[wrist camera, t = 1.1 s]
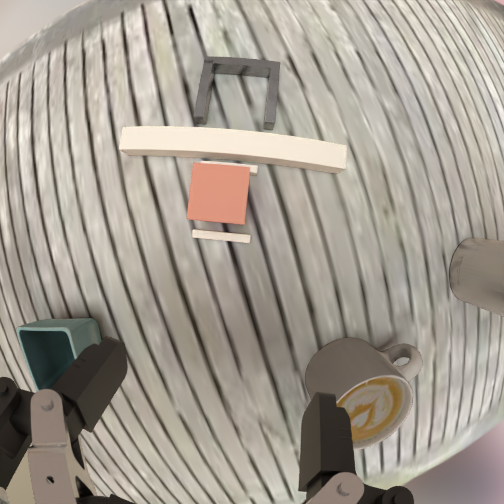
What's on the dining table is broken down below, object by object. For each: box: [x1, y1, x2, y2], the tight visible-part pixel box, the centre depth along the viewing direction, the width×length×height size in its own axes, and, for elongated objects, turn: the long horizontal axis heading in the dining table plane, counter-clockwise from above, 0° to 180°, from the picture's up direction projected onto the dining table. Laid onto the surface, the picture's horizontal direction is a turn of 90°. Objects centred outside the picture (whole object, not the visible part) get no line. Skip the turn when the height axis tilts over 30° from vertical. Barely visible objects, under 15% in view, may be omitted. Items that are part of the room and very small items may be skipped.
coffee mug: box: [305, 338, 423, 450], centre depth 28 cm, size 13×10×10 cm
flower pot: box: [16, 318, 102, 391], centre depth 27 cm, size 9×9×9 cm
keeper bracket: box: [194, 57, 280, 130], centre depth 28 cm, size 8×8×2 cm
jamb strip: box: [119, 126, 347, 243], centre depth 29 cm, size 24×11×3 cm, turn 84°
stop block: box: [187, 163, 250, 225], centre depth 26 cm, size 4×4×9 cm
